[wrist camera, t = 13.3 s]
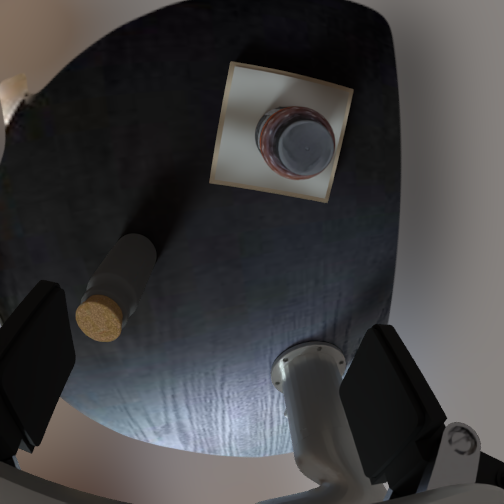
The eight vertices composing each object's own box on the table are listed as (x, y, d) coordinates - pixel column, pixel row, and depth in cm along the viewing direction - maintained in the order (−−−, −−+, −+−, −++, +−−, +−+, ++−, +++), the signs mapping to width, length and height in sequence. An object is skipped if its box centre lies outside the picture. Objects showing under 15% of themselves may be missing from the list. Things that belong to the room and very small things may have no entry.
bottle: (151, 229, 39) (114, 293, 26) (161, 270, 42) (135, 345, 28) (110, 236, 39) (61, 299, 26) (122, 275, 42) (84, 347, 28)
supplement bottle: (322, 125, 31) (364, 136, 21) (293, 173, 33) (321, 205, 23) (271, 95, 30) (292, 90, 19) (242, 145, 32) (248, 165, 21)
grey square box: (318, 193, 39) (328, 203, 35) (211, 175, 37) (209, 183, 33) (341, 90, 33) (354, 89, 29) (230, 66, 32) (230, 61, 28)
